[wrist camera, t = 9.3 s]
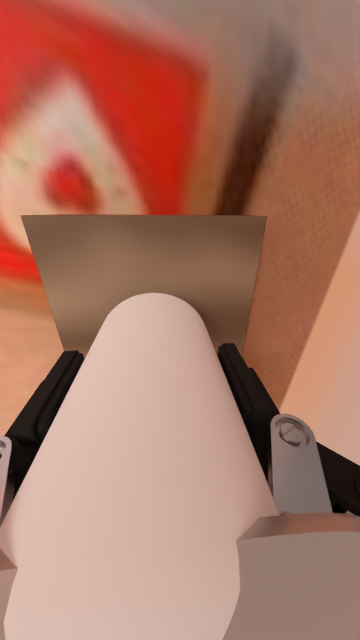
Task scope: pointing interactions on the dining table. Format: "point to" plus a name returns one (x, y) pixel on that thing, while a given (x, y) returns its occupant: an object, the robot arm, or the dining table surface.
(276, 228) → the dining table surface
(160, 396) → the can
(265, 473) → the robot arm
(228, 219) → the block
